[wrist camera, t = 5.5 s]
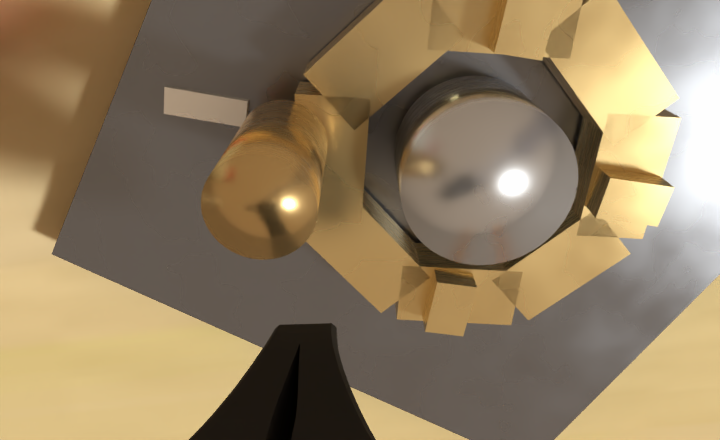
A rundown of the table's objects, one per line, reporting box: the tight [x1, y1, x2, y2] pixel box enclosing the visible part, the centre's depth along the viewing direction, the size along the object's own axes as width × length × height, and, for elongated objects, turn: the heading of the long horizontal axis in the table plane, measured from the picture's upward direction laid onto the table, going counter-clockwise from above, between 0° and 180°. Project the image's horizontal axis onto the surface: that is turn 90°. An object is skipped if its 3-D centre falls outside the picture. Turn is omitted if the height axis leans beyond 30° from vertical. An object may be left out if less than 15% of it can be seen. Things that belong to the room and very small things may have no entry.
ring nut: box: [201, 0, 681, 336], centre depth 15 cm, size 11×10×6 cm
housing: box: [52, 0, 720, 440], centre depth 17 cm, size 20×20×4 cm
